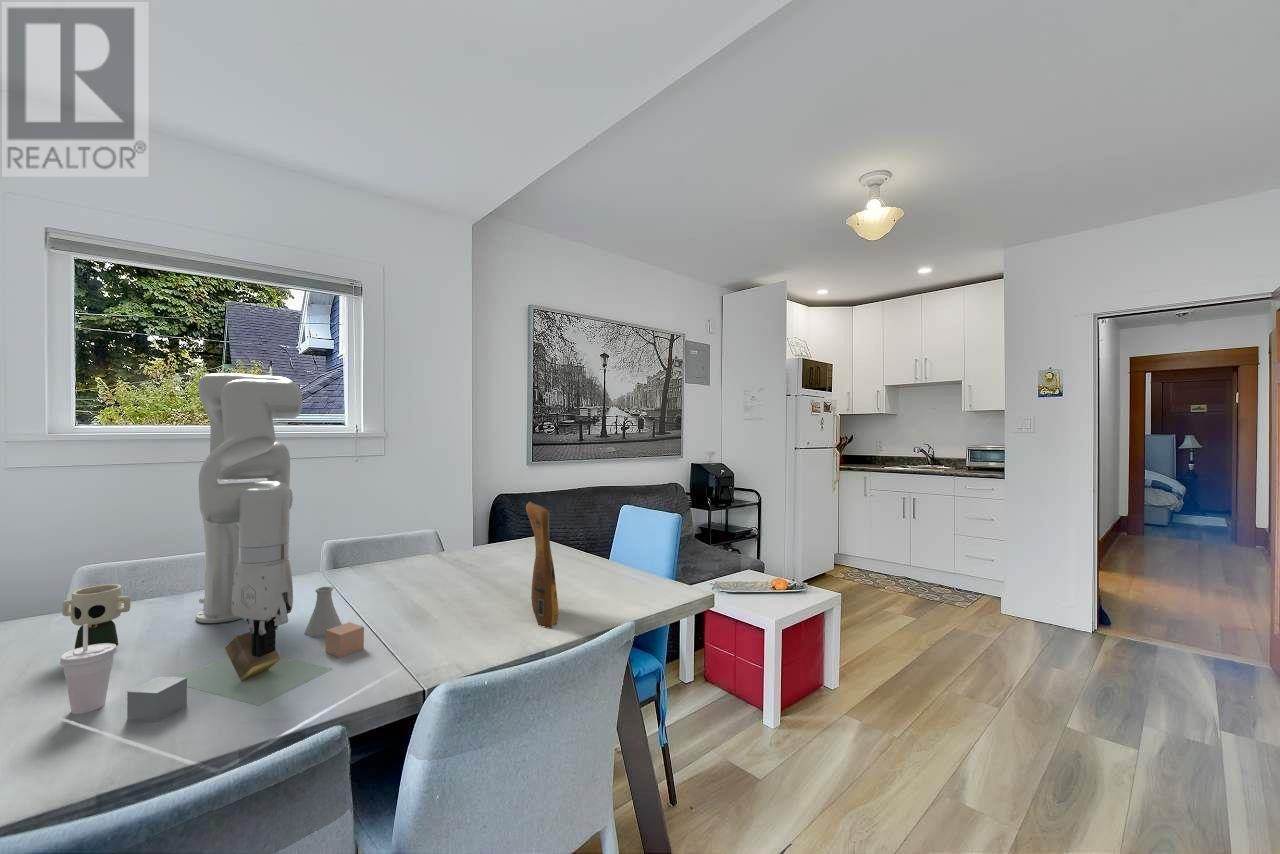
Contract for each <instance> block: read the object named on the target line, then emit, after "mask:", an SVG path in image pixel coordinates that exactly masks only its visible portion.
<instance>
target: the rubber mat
mask: <svg viewBox="0 0 1280 854" xmlns="http://www.w3.org/2000/svg"><path fill="white" fill-rule="evenodd" d="M279 657H280V660H279V661H278V662H277V663H275V664H274V665H273V666H272V667H271V668H270V669H269V670H266V671H264V672H262V673H260V674H257V675H255V676H253V677H250V678H248V679H246V680H244V681H241V680H240V678H239V676H238V674H237V672H236V670H235V668H234V666H233V664H232V662H231V660H230V658H229V656H228V655H227V656H225V657H223V658H221V659H218V660H216V661H212V662H210V663H207V664H204V665H201V666H200V667H196V668H194V669H192V670H190V671H186V672H184V673H181V674H179V675H176V676H175V677H181V678H187V688H190V689H193V690H199V691H202V692H205V693H210V694H213V695H217V696H220V697H224V698H228V699H230V700H231V699H232V700H235V701H239V702H243V703H247V704H251V705H254V706H258V707H259V706H261V705H263V704H265V703H267V702H269V701H271V700H273V699H275V698H277V697H280V696H281V695H283V694H285V693H287V692H289V691H291V690H293V689H296V688H299V687H300V686H301V685H304V684H306V683H307V682H310V681H312V680H314V679H316V678H319V676H322V675H323V674H325V673H328V672H330V671H332V670H333V668H331V667H326V666H322V665H318V664H314V663H309V662H303V661H299V660H295V659H290V658H285V657H281V656H279Z"/></svg>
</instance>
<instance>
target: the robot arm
mask: <svg viewBox="0 0 1280 854" xmlns="http://www.w3.org/2000/svg"><path fill="white" fill-rule="evenodd" d="M197 388H198V396H199V400H200V403H201V405H202V407H203V409H204V411H205V413H206V415H207V418H208V421H209V425H210V428H209V429H210V431H209V432H210V436H209V438H210V440H209V441H210V442H209V455H208V456H207V457H206V458H205V460H204V462H203V463H202V465H201V468H200V469H199V470H200V471H199V474H198V497H199V498H198V501H199V510H200V515H201V517H202V523H203V530H204V596H203V597H202V596H201V597H200V598H199V599H198V603H199V604H203V609H202V610H199V611H198V612H197V613H196V615H195V621H196V622H198V623H202V624H219V623H227V622H233V621H238V620H245V621H246V622H247V623H248V627H249V628H248V630H249V632H250V633H252V656H257V657H261V656H263V655H266V654H268V653H271V652H273V651H275V649H276V635H277V634H276V631H277V630H278V629H279V626H281V625H282V626H283V625H284V624H288V622H289V617H288V614H290V613H292V610H293V604H294V588H293V587H294V586H293V577H292V575H293V574H292V568H291V567H292V566H291V563H290V510H291V509H292V508H293V507H292V506H293V498H294V497H293V490H292V489H291V488H290V485H291V484H290V481H291V480H290V479H291V478H290V477H291V455H290V451H289V448H288V447H287V446H286V445H285V444H284V443H282V442H279V441H277V440H276V439H277V438H276V432H275V427H274V419H288V420H289V419H296V418H297V417H299V416H300V414H301V412H302V410H303V395H302V392H301V390H300V388H299V386H298V385H297V383H295V382H294V381H293V380H291V379H289V378H287V377H283V376H275V375H274V376H273V375H259V374H258V375H257V374H246V373H245V374H244V373H231V372H230V373H225V372H224V373H222V372H218V373H209V374H205V375H204V376H202V377H201V378H200V379H199V381H198V387H197ZM259 480H265V481H259ZM219 481H223V482H224V481H225V482H226V483H219ZM234 481H235V482H234ZM236 481H238V482H236ZM239 481H241V482H239ZM242 481H249V482H242ZM227 482H230V483H227ZM253 633H254V634H253Z"/></svg>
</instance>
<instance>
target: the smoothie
mask: <svg viewBox="0 0 1280 854" xmlns="http://www.w3.org/2000/svg"><path fill="white" fill-rule="evenodd" d="M116 653H117V647H116V645H115V644H111V643H102V644H94V645H89V646H88V624H84V625H83V647H81V648H77V649H75V648H73V649H72V650H69V651H66V652H64V653H63V654H62V655H61V656H60V660H59V661H60V662H59V664H60V665H61V666H63V674H64V678H65V683H66V689H67V695H68V701H69V706H70V712H71V714H73V715H81V714H88V713H91V712H93V711H94V712H95V711H97V710H98V709H101V708H103V707H105V705H106V700H107V694H108V689H109V684H110V683H109V682H110V677H111V671H112V667H113V666H112V665H113V660H114V655H115V654H116Z"/></svg>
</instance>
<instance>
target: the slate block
mask: <svg viewBox="0 0 1280 854" xmlns="http://www.w3.org/2000/svg"><path fill="white" fill-rule="evenodd" d="M126 696H127V697H126V698H127V699H126V701H127V703H126V704H127V706H126V707H127V708H126V709H127V710H126V711H127V712H126V713H127V714H126V721H132V722H135V721H136V722H150V723H158V722H159V721H161V720H163V719H165V718H166V717H168V716H170V715H172V714H174V713H175V712H177V711H178V710H181V709H182V708H184V707H186V706H187V705H188V702H187V701H188V687H187V678H181V677H176V676H161V675H160V676H157V677H155V678H153V679H150V680H149V681H148V680H147V682H145V683H142V684H140V685H138V686H136V687H134V688H132V689H129V690H128V691H127V694H126Z"/></svg>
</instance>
